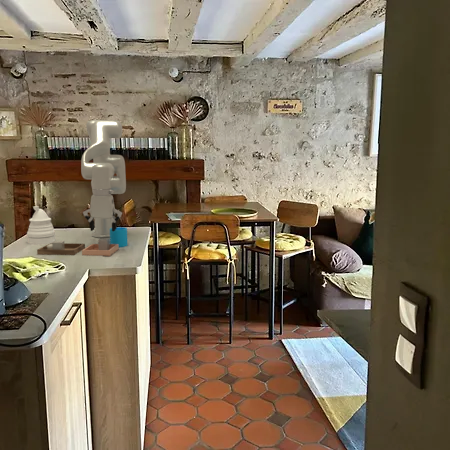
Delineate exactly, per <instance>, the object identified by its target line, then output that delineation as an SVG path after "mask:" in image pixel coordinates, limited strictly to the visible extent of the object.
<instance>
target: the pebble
mask: <svg viewBox="0 0 450 450" xmlns="http://www.w3.org/2000/svg"><path fill="white" fill-rule="evenodd" d="M47 245H48V244H47ZM47 249H48V250H53V246H52V244H50V243H49V245H48V246H47Z"/></svg>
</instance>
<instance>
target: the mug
mask: <svg viewBox="0 0 450 450" xmlns="http://www.w3.org/2000/svg"><path fill="white" fill-rule="evenodd" d="M109 238H110V244H118V246H119V248H124V247H128V228H127V227H125V226H123V227H121V226H118V227H117V226H116V229H115V231H112V228H110V237H109Z"/></svg>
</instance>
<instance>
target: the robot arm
mask: <svg viewBox="0 0 450 450" xmlns="http://www.w3.org/2000/svg"><path fill="white" fill-rule="evenodd" d="M85 126H86V127H85V128H86V132H87V136H88V137H89V141H90V146H89V147H87V148H86V150H84V152H83V154H82V156H81V160H80V161H81V162H80V163H81V165H80V166H81V168H80V169H81V176H82V178H83V179H84V180H91V182H90V185H91V190H92V195H91V197H90V206H89V208H88V209H85V210H84V211H82V214H83V217H84V218H85V219H86V220H87V222H89V223H88V224H89V229H90V232H92V234H91V236H92V237H93V238H110V228H112V231H115V229H116V227H117V222H118V221H119V220H120V218H121V216H122V215H123V212H122V211H120V210H119V209H116V208H115V202H114V197H113V195H117V194H118V195H121V194H124V193H125V192H126V191H127V189H126V188H127V179H126V178H127V177H126V162H125V158H124V156H123V155H121V154H111V150H110V149H111V142H110V139H121V138H122V136H123V132H124V131H123V125H122V122H121V121H120V120H117V119H116V120H115V119H113V120H112V119H91V120H88V121H87V122H86V124H85ZM91 160H93V162H90V161H91ZM88 213H89V214H90V215H89V214H88ZM116 214H117V216H116ZM93 231H94V232H93Z"/></svg>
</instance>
